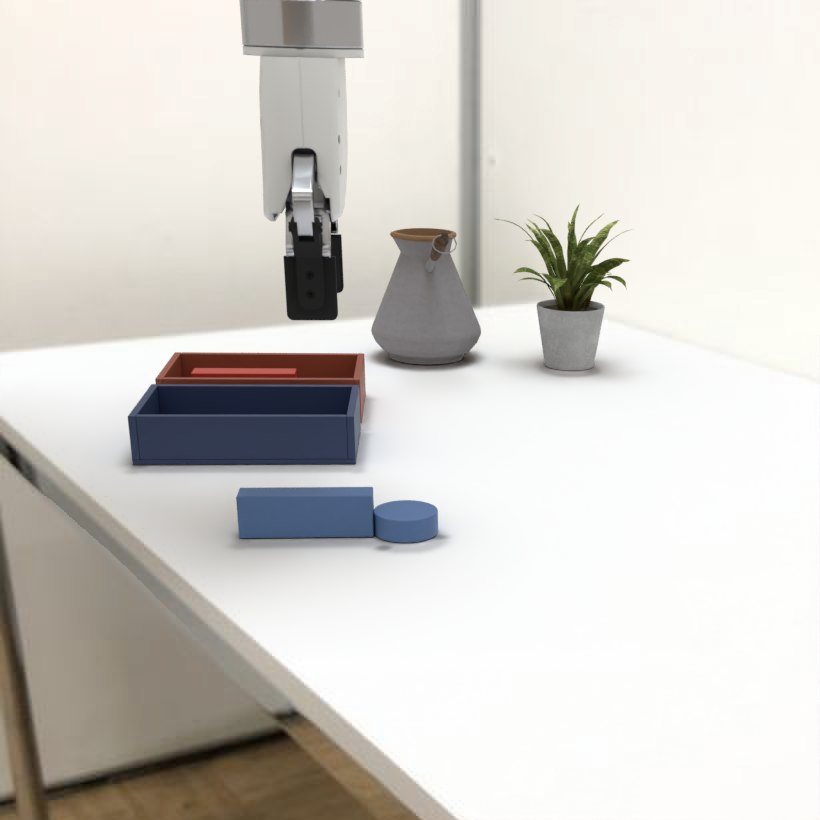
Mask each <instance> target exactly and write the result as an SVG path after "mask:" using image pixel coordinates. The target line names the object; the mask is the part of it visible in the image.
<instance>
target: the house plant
mask: <svg viewBox="0 0 820 820" xmlns="http://www.w3.org/2000/svg"><path fill="white" fill-rule="evenodd" d="M580 204H581V203H578V205H577V206H576V208H575V210H574V211H573V214H572V217H571V221H570V222H569V221H567V222H568V223H567V231H568V232H567V237H566V238H567V247H566V248H567V250H566V258H567V259H566V260H565V255H564V250H563V246H562V244H561V242H560V240H559V239H558V237H557V236H556V235H555V234H554V232H553V229H552V227H551V226H550V223H549V222H547V220H546V219H545V218H543V217H542V216H540V215H537V214H535V213H533V214H532V215H533V216H535V217H538V218H540V219H541V220H543V221H544V223H545V225H546V226H547V227H548V229H546V228H539V226H538V225H537V223H535V222H533V221H532V220H530V219H528V218H527V221H529V222H530V224H532V225H533V226H534V227H535V228H533V227H532V226H530V225H528V224H527V223H524V225H525V226H526V228H528V230H529V231H531V233H532V234H533V236H534V238H535V239H536V240H535V239H533V237H532V236H531V234H529V233H528V231H527V230H526V229H524V228H523V227H522V226H520V224H517V223H515V222H512V221H510V220H505V219H501V218H500V219H499V218H495V220H497V221H502V222H507V223H510V224H513V225H514V226H517V227H519V228H520V229H521V230H523V231H524V232H525V233H526V235H527V236H528V237H529V238H530V239H525V240H524V241H526V242H531V244H532V245H534V247H535V248H536V249H537V251H538V252H539V254H540V256H541V258H542V260H543V261H544V264H545V268H546V270H547V273H544V272H537V271H536V270H535V269H533V268H529V267H527V266H521V267H519V268H517V269H516V270H515V271H514V272H513V273H512V275H514V274H517V273H528V274H529V273H530V274H533V275H535V276H537V278H536V277H529V276H528V277H523V278H520V279H518V281H517V282H519V281H524V280H526V281H527V280H534V281H538V282H541V283H543V284H544V285H546V286H547V288H548V290H549V292H550V293H551V295H552V296H553V299H545V300H541V301H538V302H537V303H536V311H537V320H538V326H539V332H540V333H539V335H540V340H541V349H542V354H543V363H544V366H545V367H547V368H548V369H549V368H550V369H553V370H558V371H585V370H589V369H592V368H594V366H595V362H596V361H595V360H596V355H597V351H598V345H599V340H600V335H601V330H602V324H603V319H604V314H605V310H606V306H605V304H603V303H601V302H598V301H593V300H592V297H593V295H594V292H595V289H596V288H597V287H598V286H599V285H602V286H605V287H607V288H609V289H610V290H611V291H613V288H612V283H611V282H610V281H608V280H605V279H613V280H614V281H615V280H616V281H617V282H619V283H621V284H622V286H624V287H625V290H626V291H628V290H627V283H626V282H627V281H626V280H625V279H624V278H622V277H621V276H618V275H612V273H611V272H610V271H611V270H613V269H616V268H617V267H619V266H621V265H622V264H623V263H628V262H631V259H626V258H623V257H611V258H608V259H605V260H603V261H601V262H599V263H598V264H594V263H595V261H596V260H597V258H598V257H599V255H600V254H601V252H602V251H603V250H604V249H605V248H606V246H608V244H609V243H610V242H611V241H613V240H615V239H616V238H617V237H619V236H620V235H621V234H624V233H626V232H630V229H629V230H628V229H627V230H624V231H622V232H620V233H618V234H617V235H616V236H613V238H611V239H610V240H608V241H607V242H606V240H607V239H608V236H609V234H610V231H611V229H612V228H613V227H614V226H615V225H616V224H617V223H619V222H620V219H618V220H614V221H612V222H610V223H608V224H606V225H605V226H604V227H603V228H601V229H600V230H599V232H597V234H596V235H595V236H591V237H587V238H585V239H583V240H582V238H583V237H584V236H585V234H586V233H587V231H588V229H589V228H590V227H591V226H593V224H594V223H595V222H597V221H598V220H599V219H600V218H601V217H602V216H603V215H604V213H602V214H600V215H599V216H598V217H597V218H595V219H594V220H593V221H592V222H591V223H590V224H589V225H588V226H587V227H586V228H585V230H584V231H583V232H582V234H581V236H580V239H579V241H578V240H577V234H576V219H577V215H578V212H579V207H580ZM632 230H634V229H631V231H632ZM604 242H606V243H605V244H604ZM603 244H604V246H602V245H603ZM601 246H602V247H601ZM593 264H594V265H593ZM538 277H539V278H538Z"/></svg>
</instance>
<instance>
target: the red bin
mask: <svg viewBox="0 0 820 820" xmlns="http://www.w3.org/2000/svg"><path fill="white" fill-rule="evenodd" d="M194 368H296V369H297V378H212V377H191V373H192V371H193V370H194ZM154 381H155V384H158V385H159V384H251V385H359V393H360V421H361V424H362V422H363V415H364V409H365V402H366V395H367V394H366V393H367V392H366V363H365V353H362V352H361V353H358V352H355V353H354V352H353V353H352V352H351V353H349V352H347V353H345V352H344V353H343V352H206V351H205V352H203V351H202V352H200V351H199V352H194V351H193V352H191V351H190V352H189V351H184V352H181V351H179V352H178V351H174V353H173V354H172V355H171V357H170V358H169V359H168V361H167V362H166V364H165V365H164V366H163V368H162V369H161V371H160V372H159V373H158V374H157V376H156V377H155V380H154Z"/></svg>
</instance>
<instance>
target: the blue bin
mask: <svg viewBox="0 0 820 820" xmlns="http://www.w3.org/2000/svg"><path fill="white" fill-rule="evenodd" d="M127 423H128V425H127V426H128V435H129V442H130V443H129V444H130V453H131V461H132V462H131V463H132V465H133V466H142V465H143V466H145V465H146V466H147V465H149V466H151V465H155V466H156V465H157V466H159V465H161V466H162V465H166V466H167V465H171V466H173V465H177V466H178V465H179V466H180V465H181V466H183V465H356V464H357V459H358V458H357V457H358V451H359V444H360V437H361V429H362V425H361V424H362V423H361V421H360V393H359V385H251V384H159V385H158V384H156V383H151V384H150V386H149V387H148V388H147V389H146V391H145V392H144V394H143V395H142V397H140V399H139V400H138V402H137V403H136V404H135V406H134V407H133V409H132V410H131V411H130V413H129V414H128V415H127Z"/></svg>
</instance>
